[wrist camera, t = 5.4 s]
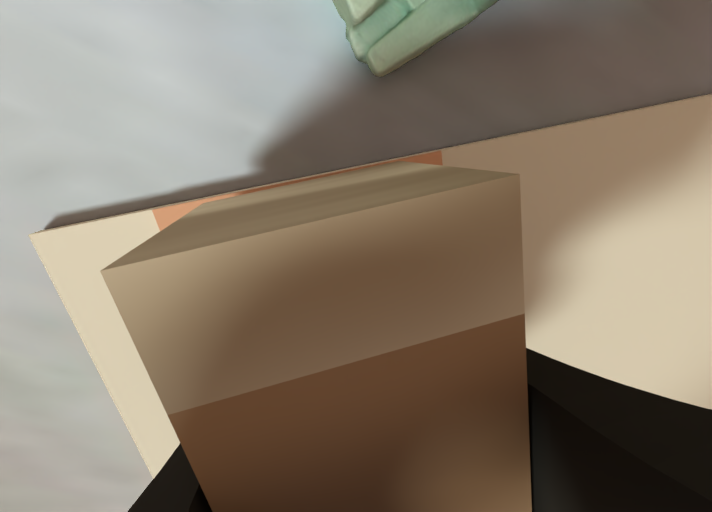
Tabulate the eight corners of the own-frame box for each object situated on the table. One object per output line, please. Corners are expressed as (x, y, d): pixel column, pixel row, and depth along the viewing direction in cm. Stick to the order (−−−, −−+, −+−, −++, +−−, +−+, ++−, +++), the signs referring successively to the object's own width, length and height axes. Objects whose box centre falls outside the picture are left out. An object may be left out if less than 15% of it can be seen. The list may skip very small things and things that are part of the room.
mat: (224, 598, 14) (222, 616, 14) (41, 230, 9) (25, 235, 9) (708, 428, 17) (722, 437, 17) (778, 79, 12) (802, 76, 12)
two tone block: (437, 426, 12) (535, 605, 7) (294, 472, 11) (300, 698, 7) (398, 160, 9) (519, 173, 4) (203, 202, 8) (100, 270, 4)
